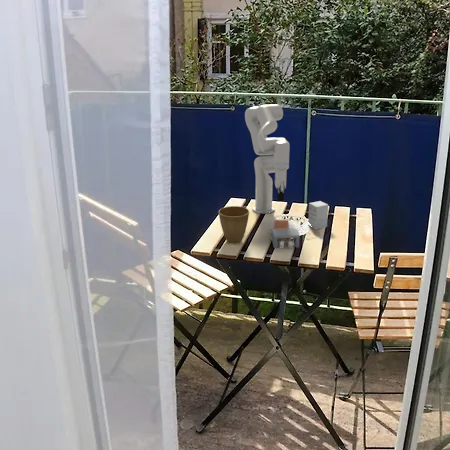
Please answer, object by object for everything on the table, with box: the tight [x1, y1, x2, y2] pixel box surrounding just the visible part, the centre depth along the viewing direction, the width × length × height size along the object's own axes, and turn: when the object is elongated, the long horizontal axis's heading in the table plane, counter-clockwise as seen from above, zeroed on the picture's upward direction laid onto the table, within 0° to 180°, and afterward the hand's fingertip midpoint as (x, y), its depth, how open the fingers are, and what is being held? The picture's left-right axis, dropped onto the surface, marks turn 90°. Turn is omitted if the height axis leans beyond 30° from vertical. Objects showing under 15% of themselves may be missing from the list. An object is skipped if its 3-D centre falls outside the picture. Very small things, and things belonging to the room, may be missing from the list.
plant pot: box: [218, 205, 250, 245], centre depth 276 cm, size 15×15×16 cm
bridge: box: [269, 228, 300, 249], centre depth 278 cm, size 18×12×6 cm
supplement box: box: [307, 200, 329, 230], centre depth 295 cm, size 7×7×13 cm
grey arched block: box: [273, 219, 292, 241], centre depth 285 cm, size 12×7×6 cm, turn 2°
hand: (280, 199), depth 291 cm, fingers closed
